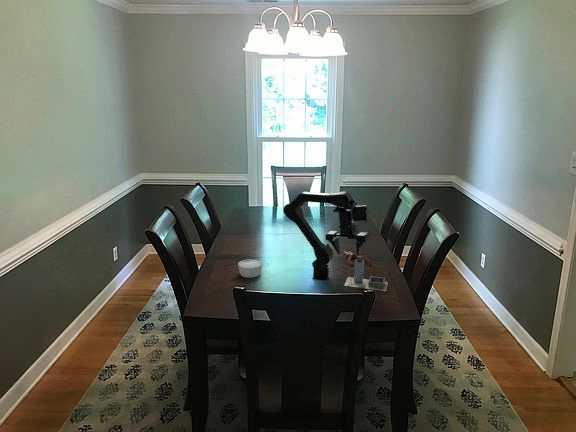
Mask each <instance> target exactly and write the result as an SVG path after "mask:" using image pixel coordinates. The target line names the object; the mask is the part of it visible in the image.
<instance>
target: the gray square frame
mask: <svg viewBox="0 0 576 432" xmlns="http://www.w3.org/2000/svg"><path fill="white" fill-rule="evenodd" d="M368 280H369V283H368V287H371V288H379V289H384V285H385V282H386V278H385V277H379V276H372V275H371V276H369V279H368Z"/></svg>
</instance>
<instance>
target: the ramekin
mask: <svg viewBox="0 0 576 432" xmlns="http://www.w3.org/2000/svg"><path fill="white" fill-rule="evenodd" d="M237 267H238V270H239V271H238V272H239V275H241V277H243V278H248V279H249V278H256V277H259V276H260V275H261V273H262V267H263V262H262V261H260V260H258V259H243V260H241V261H239V262H238V263H237Z"/></svg>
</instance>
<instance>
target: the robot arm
mask: <svg viewBox="0 0 576 432" xmlns="http://www.w3.org/2000/svg"><path fill="white" fill-rule="evenodd" d="M307 202H308V203H321V204H322V203H323V204H331V205H333V206H335V208H334V209H333V210H332V212H333V213H338V223H339V224H338V225H337V226H338V228H339V231H340V232H339V231H338V230H337V231H336V230H330V231H329V232H327V233H326V234H325V241H327V242H328V243H326V244H325V243H324V242H322V241H321V239H320V238H319V237H318V235H317V233H316V232H315V230H314V229H313V228H312V226H311V225H310V224H309V222H308V220H307V219H306V218H305V217H304V211H303V208H302V206H303V205H304V204H305V203H307ZM282 212H283V214H284V216H286V218H287V219H288V220H290V221H292V222H293V223H295V225H296V226H297V227H298V229H299V230H300V231H301V233H302V235H303V236H304V237H305V239H306V241H307V242H308V244H310V246H311V247H312V249H313V252H314V256H315V258H316V259H315V260H313V261H312V263H311V265H312V268H313V271H312V272H313V273H312V274H313V275H312V277H311V279H312V280H320V281H327V279H328V278H329V277H330V267H329V263H330V262H331V261H332V260H333V258H334V254H335V253H334V249H335V251H336V253H337V254H338V255H340V254H341V247H340V239H345V240H346V239H347V240H349V239H351V240H356V242H355V246H356V254H357V255H358V256H361V251H362V247H363V244H365V243H366V242H367V241H369V240H370V239H371V238H370V234H369V232H365V231H364V232H363V231H362V232H361V231H360V232H359V225H358V224H355V222H370V219H371V211H370V208H369V206H368V205H367V204H364V205H358V204H357V202H356V201H355V200H354V199H353V197H352V194H351V192H349V191H339V192H333V193H327V192H325V193H324V192H312V191H311V192H310V191H309V192H308V191H303V192H300V193H299V194H298V195H297V196H296V197H295V198H294V199H293V200H292V201H291V202H288V203H287V204H285V205H284V206H283V209H282ZM356 233H358V234H356ZM329 243H330V244H331V245H332V247H333V249H332V248H331V246H330V244H329Z"/></svg>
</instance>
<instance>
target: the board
mask: <svg viewBox="0 0 576 432" xmlns="http://www.w3.org/2000/svg"><path fill="white" fill-rule="evenodd" d="M353 279H354V277H351V276H347V278H346V280H345V283H344V287H352V288H358V289H359V288H360V289H367V290H374V291H381V292H382V291H383V292H387V289H388V283H389V282H388V281H385V285H384V289H379V288H371V287H368V283H369V279H366V278H363V280H365V285H364V286H360V285H352V284H351V283H352V281H353Z"/></svg>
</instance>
